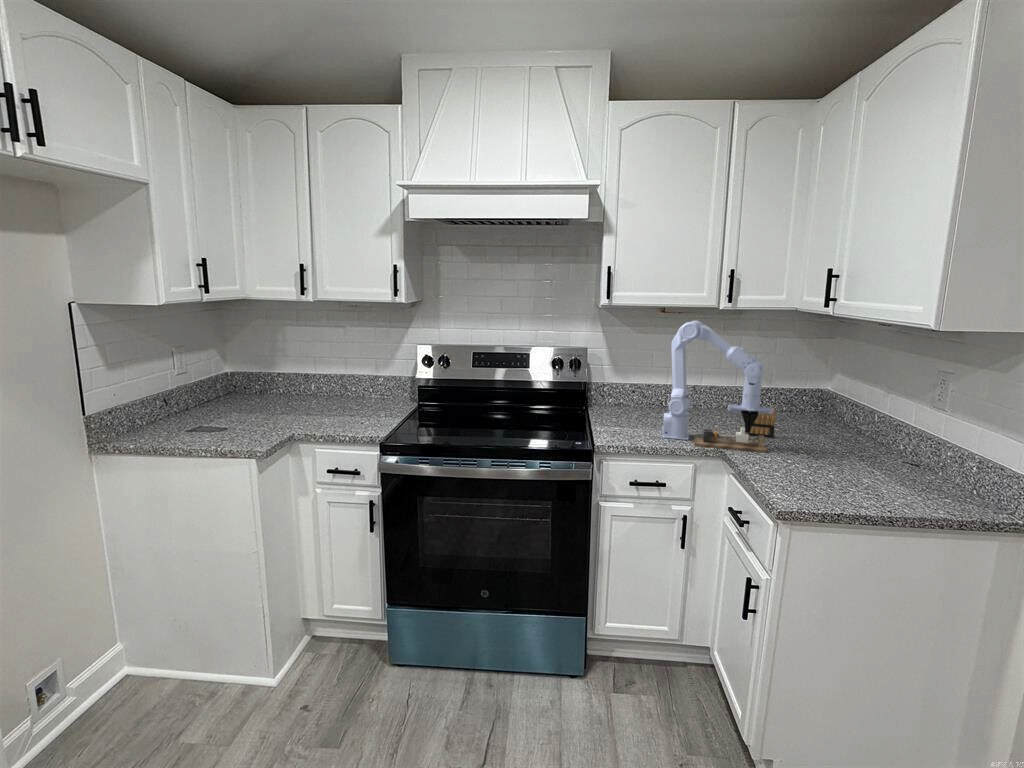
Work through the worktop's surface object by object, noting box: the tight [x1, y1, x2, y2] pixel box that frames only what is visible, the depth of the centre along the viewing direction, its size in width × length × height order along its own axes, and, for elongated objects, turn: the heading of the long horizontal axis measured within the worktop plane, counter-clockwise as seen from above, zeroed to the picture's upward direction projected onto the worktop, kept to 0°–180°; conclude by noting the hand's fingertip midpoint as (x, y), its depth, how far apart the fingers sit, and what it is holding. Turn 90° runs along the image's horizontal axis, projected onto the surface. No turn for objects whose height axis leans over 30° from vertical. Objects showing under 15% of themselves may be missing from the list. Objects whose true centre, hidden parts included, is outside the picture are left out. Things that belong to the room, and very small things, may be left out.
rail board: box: [693, 428, 768, 454], centre depth 200 cm, size 24×9×5 cm, turn 74°
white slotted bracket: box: [734, 426, 750, 443], centre depth 198 cm, size 4×3×5 cm
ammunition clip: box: [743, 405, 776, 439], centre depth 212 cm, size 11×2×12 cm, turn 70°
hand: (747, 431), depth 198 cm, fingers closed
